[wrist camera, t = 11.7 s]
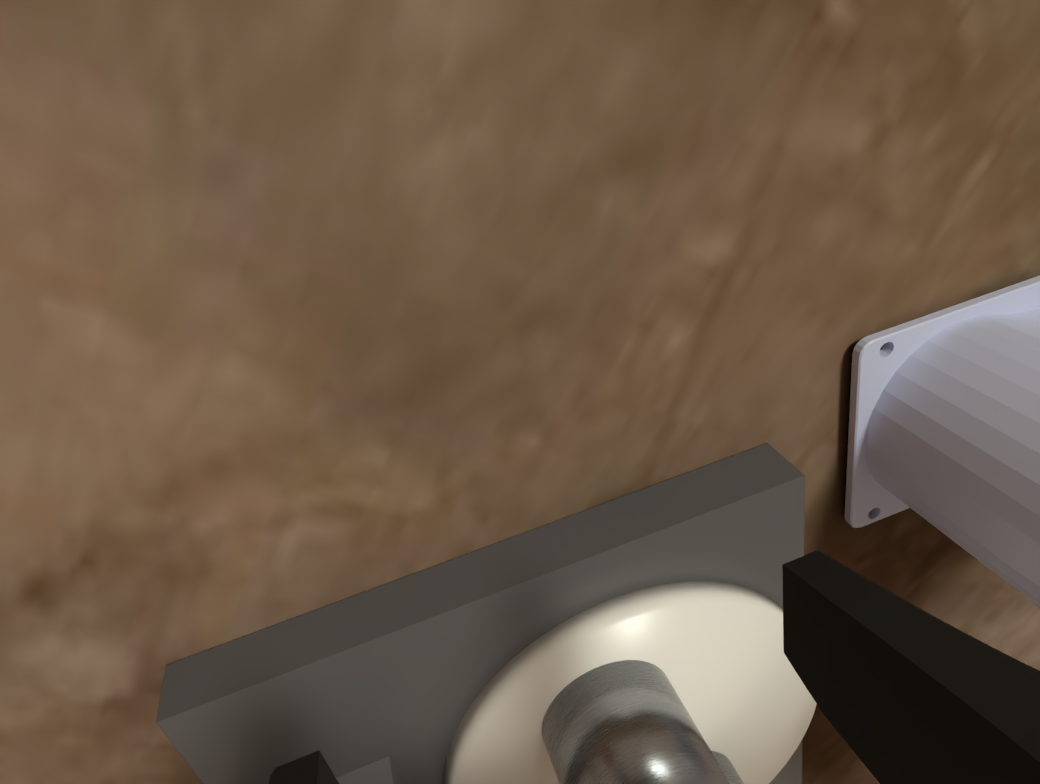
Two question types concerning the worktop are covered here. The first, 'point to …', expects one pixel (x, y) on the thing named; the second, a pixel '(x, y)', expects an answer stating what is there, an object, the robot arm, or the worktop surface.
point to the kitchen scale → (524, 645)
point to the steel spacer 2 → (727, 768)
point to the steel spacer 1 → (626, 730)
